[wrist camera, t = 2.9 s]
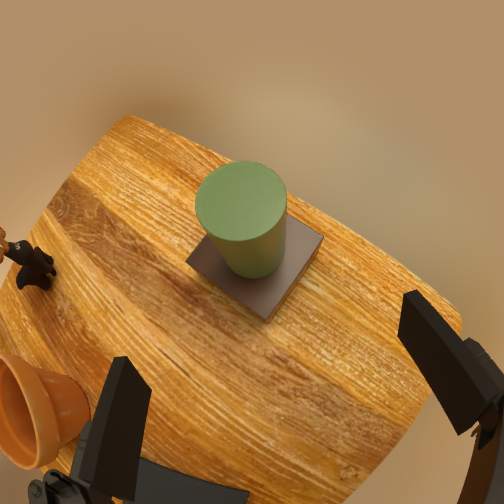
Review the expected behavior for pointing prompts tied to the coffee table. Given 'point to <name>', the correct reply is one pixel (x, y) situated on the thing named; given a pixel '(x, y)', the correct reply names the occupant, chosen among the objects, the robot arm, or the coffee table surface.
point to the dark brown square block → (266, 288)
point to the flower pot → (37, 412)
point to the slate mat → (180, 488)
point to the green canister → (245, 216)
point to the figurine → (28, 262)
